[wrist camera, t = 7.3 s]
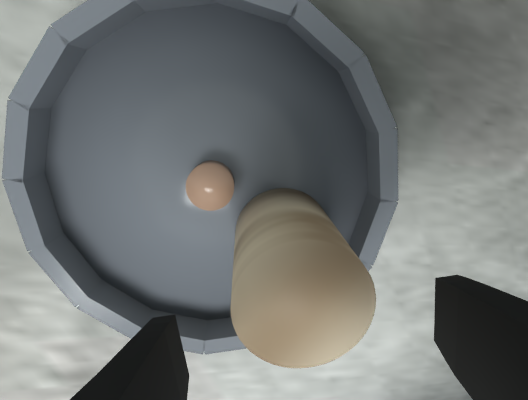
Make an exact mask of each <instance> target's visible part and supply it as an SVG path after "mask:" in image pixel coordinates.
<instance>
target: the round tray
mask: <svg viewBox="0 0 528 400" xmlns="http://www.w3.org/2000/svg"><path fill="white" fill-rule="evenodd" d="M51 26H52V27H53V28H52V27H50V26H49V28H48V29H47V31H46V33H45V35H44V36H43V38H42V40H41V42H40V43H39V45H38V47H37V49H36V50H35V52H34V54H33V56H32V57H31V59H30V61H29V62H28V64H27V66H26V68H25V69H24V71H23V73H22V75H21V76H20V78H19V80H18V82H17V83H16V85H15V87H14V89H13V90H12V92H11V94H10V96H9V97H8V98H9V99H11V100H8V101H7V115H6V128H5V142H4V156H3V170H2V178H3V179H5V180H2V181H3V184H4V187H5V190H6V193H7V195H8V198H9V201H10V204H11V207H12V209H13V212H14V215H15V218H16V221H17V224H18V226H19V229H20V232H21V235H22V238H23V241H24V243H25V246H26V249H27V251H30V252H29V254H30V255H31V257H32V258H33V259H34V260H35V261H36V262H37V263H38V265H39V266H40V267H41V268H42V269H43V270H44V272H45V273H46V274H47V275H48V276H49V277H50V278H51V280H52V281H53V282H54V283H55V284H56V285H57V287H58V288H59V289H60V290H61V291H62V292H63V293H64V295H65V296H66V297H67V298H68V299H69V300H70V302H71V303H72V304H73V305H74V306H75V307H76V306H78V305H79V306H78V307H77V309H79V310H81V311H83V312H84V313H86V314H88V315H90V316H92V317H93V318H95V319H97V320H99V321H100V322H102V323H104V324H106V325H108V326H109V327H111V328H113V329H115V330H117V331H118V332H120V333H122V334H124V335H125V336H127V337H129V338H131V339H132V338H133V337H134V336H135V335H136V334H137V333H138V332H139V331H140V330H141V329H142V328H143V327H144V326H145V325H146V324H147V323H148V322H149V321H150V320H151V319H152V318H153V317H161V316H168V315H175V316H176V320H177V325H178V329H179V333H180V338H181V342H182V346H183V351H188V352H193V353H198V354H203V353H205V354H211V353H218V352H225V351H232V350H239V349H246V347H245V346H244V344H243V343H242V342H241V341H240V339H239V337H238V336H237V334H236V332H235V329H234V327H233V323H232V319H231V310H230V308H231V292H232V276H233V260H234V245H235V230H236V224H237V220H238V217H239V215H240V213H241V211H242V210H243V208H244V207H245V206H246V205H247V204H248V202H249V201H251V200H252V199H253V198H254V197H256V196H257V195H259V194H261V193H263V192H265V191H268V190H271V189H277V188H290V189H295V190H299V191H302V192H304V193H306V194H308V195H309V196H311V197H312V198H313V199H314V200H315V201H317V202H318V204H319V205H320V206H321V207H322V209H323V210H324V212H325V213H326V214H327V216H328V217H329V218H330V220H331V221H332V222H333V224H334V225H335V227H336V228H337V229H338V231H339V232H340V233H341V235H342V236H343V237H344V239H345V240H346V242H347V243H348V244H349V246H350V247H351V248H352V250H353V251H354V252H355V254H356V255H357V256H358V258H359V259H360V261H361V262H362V263H363V265H364V266H365V267H366V269H367V271H369V270H370V269H371V268H372V266H371V265H373V264H374V262H375V259H376V257H377V254H378V252H379V249H380V247H381V244H382V242H383V239H384V237H385V234H386V231H387V229H388V226H389V224H390V221H391V219H392V216H393V214H394V211H395V209H396V206H397V204H398V202H396V201H398V128H395V127H397V125H396V123H395V120H394V118H393V116H392V113H391V111H390V109H389V107H388V104H387V102H386V100H385V97H384V95H383V93H382V90H381V88H380V86H379V84H378V81H377V79H376V77H375V74H374V72H373V70H372V67H371V65H370V63H369V61H368V58H367V56H366V55H363V54H364V52H363V51H362V50H361V49H360V48H359V47H358V46H357V45H356V44H355V43H354V42H352V41H351V40H350V39H349V38H348V37H347V36H346V35H345V34H344V33H343V32H342V31H341V30H340V29H339V28H337V27H336V26H335V25H334V24H333V23H332V22H331V21H330V20H329V19H328V18H327V17H326V16H325V15H323V14H322V13H321V12H320V11H319V10H318V9H317V8H316V7H315V6H314V5H313V4H312V3H311V2H309V1H308V0H87V1H86V2H84V3H83V4H81V5H80V6H78V7H77V8H75V9H74V10H72V11H71V12H69V13H68V14H66V15H65V16H63V17H62V18H60V19H59V20H57V21H56V22H54V23H52V24H51ZM362 55H363V56H362Z"/></svg>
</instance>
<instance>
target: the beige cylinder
mask: <svg viewBox="0 0 528 400" xmlns="http://www.w3.org/2000/svg"><path fill="white" fill-rule="evenodd" d="M375 306H376V294H375V288H374V283H373V281H372V278H371V276H370V274H369V272H368V271H367V269H366V267H365V266H364V265H363V263H362V262H361V261H360V259H359V258H358V256H357V255H356V254H355V252H354V251H353V250H352V248H351V247H350V246H349V244H348V243H347V242H346V240H345V239H344V237H343V236H342V235H341V233H340V232H339V231H338V229H337V228H336V227H335V225H334V224H333V222H332V221H331V220H330V218H329V217H328V216H327V214H326V213H325V212H324V210H323V209H322V207H321V206H320V205H319V204H318V202H317V201H315V200H314V199H313V198H312V197H311V196H309V195H308V194H306V193H304V192H302V191H299V190H295V189H290V188H277V189H271V190H268V191H265V192H263V193H261V194H259V195H257V196H256V197H254V198H253V199H252V200H251V201H249V202H248V204H247V205H246V206H245V207H244V208H243V210H242V211H241V213H240V215H239V217H238V220H237V224H236V230H235V245H234V260H233V276H232V292H231V308H230V310H231V319H232V323H233V327H234V329H235V332H236V334H237V336H238V337H239V339H240V341H241V342H242V343H243V344H244V346H245V347H246V348H247V349H248V350H249V351H250V352H252V353H253V354H254V355H256V356H257V357H259V358H261V359H262V360H264V361H266V362H269V363H271V364H274V365H278V366H282V367H288V368H309V367H314V366H319V365H322V364H326V363H328V362H331V361H333V360H335V359H337V358H339V357H341V356H342V355H344V354H345V353H347V352H348V351H350V350H351V349H352V348H353V347H354V346H355V345H356V344H357V343H358V342H359V341H360V340H361V339H362V337H363V336H364V335H365V333H366V332H367V330H368V328H369V326H370V324H371V322H372V319H373V316H374V312H375Z"/></svg>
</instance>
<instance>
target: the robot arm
mask: <svg viewBox="0 0 528 400" xmlns="http://www.w3.org/2000/svg"><path fill="white" fill-rule="evenodd" d="M434 341H435V343H436V344H437V346H438V348H439V350H440V351H441V353H442V355H443V357H444V358H445V360H446V362H447V363H448V365H449V367H450V368H451V370H452V372H453V373H454V375H455V376H456V378H457V379H458V380H459V382H460V383H461V384H462V386H463V387H464V388H465V390H466V391H467V392H468V394H469V395H470V396H471V398H472V399H473V400H528V301H525V300H523V299H520V298H518V297H515V296H513V295H510V294H508V293H505V292H503V291H500V290H498V289H495V288H493V287H490V286H488V285H485V284H482V283H480V282H477V281H474V280H472V279H469V278H466V277H463V276H459V275H453V276H446V277H439V278H436V281H435V325H434ZM188 382H189V373H188V368H187V364H186V359H185V355H184V351H183V346H182V342H181V338H180V333H179V329H178V325H177V320H176V316H175V315H168V316H161V317H153V318H152V319H151V320H150V321H149V322H148V323H147V324H146V325H145V326H144V327H143V328H142V329H141V330H140V331H139V332H138V333H137V334H136V335H135V336H134V337H133V338H132V339H131V340H130V341H129V342H128V343H127V344H126V345H125V346H124V347H123V348H122V349H121V350H120V351H119V352H118V353H117V354H116V355H115V356H114V357H113V358H112V359H111V361H110V362H109V363H108V364H107V365H106V366H105V367H104V368H103V369H102V370H101V371H100V372H99V373H98V374H97V375H96V376H94V377H93V378H92V379H91V380H90V381H89V382H88V383H87V384H86V385H85V386H84V387H83V388H82V389H81V390H80V391H79V392H77V393H76V394H75V395H74V396H73V397H72V398H71V399H70V400H187V393H188Z"/></svg>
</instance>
